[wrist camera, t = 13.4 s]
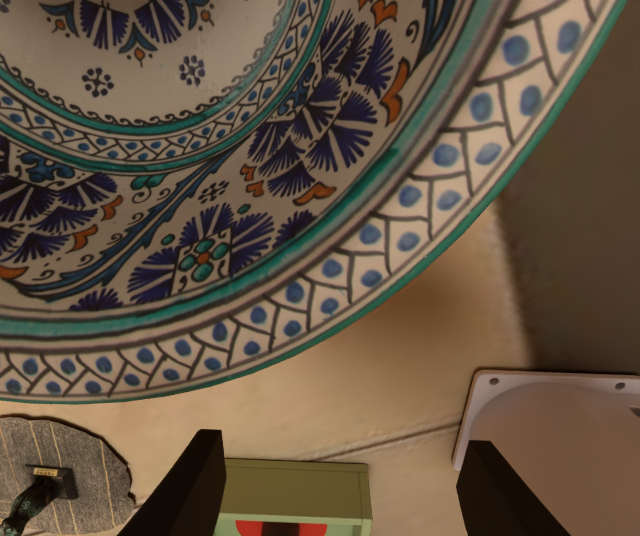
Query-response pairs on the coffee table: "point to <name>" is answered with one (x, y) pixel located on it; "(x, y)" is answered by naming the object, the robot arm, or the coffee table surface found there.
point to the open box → (296, 495)
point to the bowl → (249, 171)
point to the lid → (279, 528)
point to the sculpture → (59, 480)
